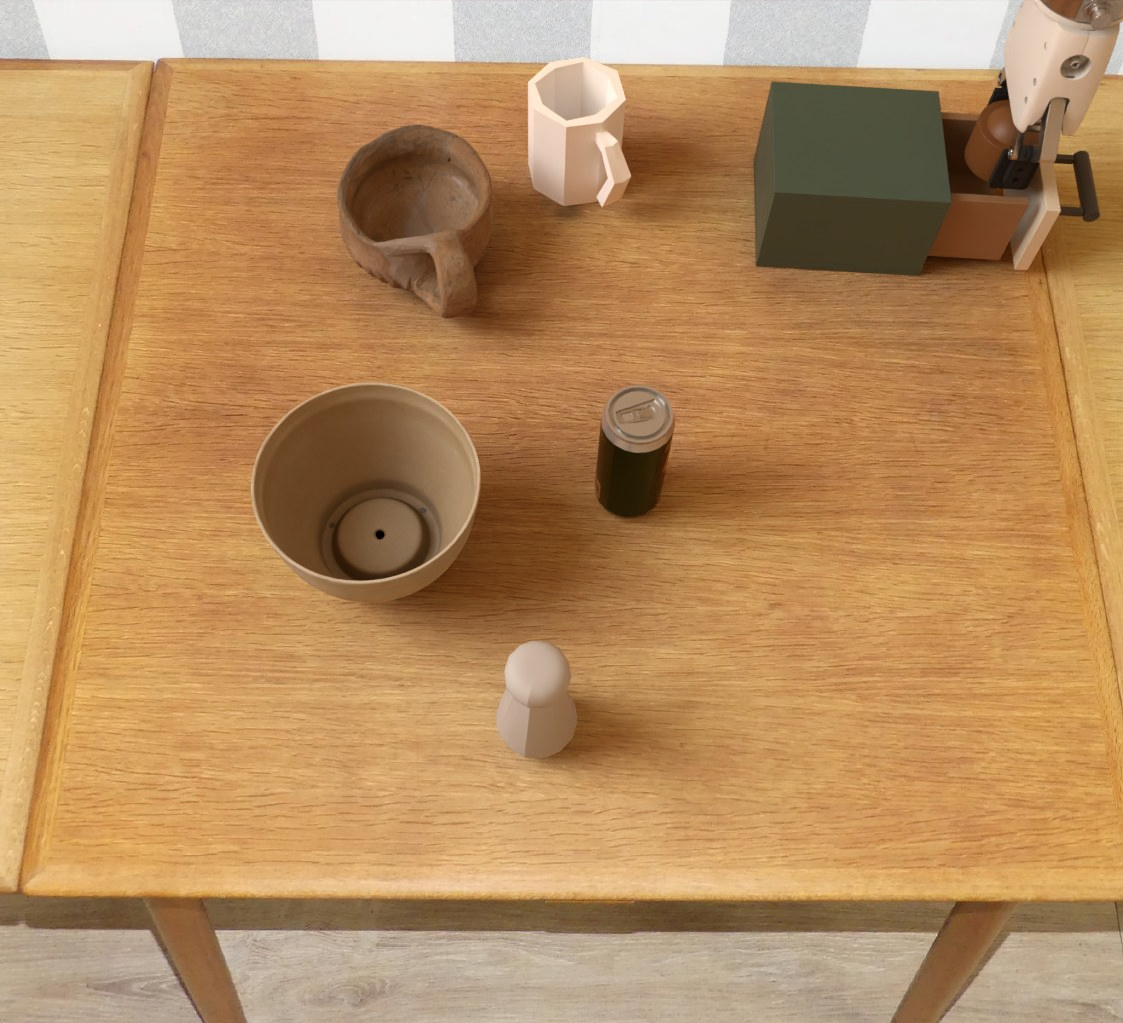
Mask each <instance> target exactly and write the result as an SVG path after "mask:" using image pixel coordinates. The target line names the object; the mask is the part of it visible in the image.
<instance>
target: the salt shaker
mask: <svg viewBox="0 0 1123 1023" xmlns="http://www.w3.org/2000/svg"><path fill="white" fill-rule="evenodd" d="M506 661H507V662H506V664H505V667H504V670H503V674H504V681H505V682H504V683H505V690H504V692H503V694H502V695H501V697H500V700H499V703H498V706H497V710H496V712H495V720H496V728H497V734H498V735H499V736H500V738H501V739H502V741H503V742H504V743H505V745H506V746H507V748H508V749H509V750H511V751H513V752H514V753H516V754H518V755H519V756H521V757H523V758H525V759H526V758H527V759H539V760H540V759H541V760H543V759H546V758H548V757H551V756H553V755H556V754H559V753H561V751H562V750H563V749H564V748H565V747H566V746H567V745H568V744H569V743H570V742H571V740H572V739H573V738H574V735H575V731H576V727H577V725H578V721H579V718H578V714H577V709H576V703H575V701H574V700H573V698H572V696H571V695H570V693H569V691H568V689H569V685H570V682H571V679H572V672H571V666H570V662H569V659H568V658H567V656H566V655H565V653H564V652H563V651H562V650H561V648H560V647H558V646H556V645H555V644H553V643H551V642H549V641H545V640H530V641H527V642H525V643H523V644H520V645H518V646H517V647H516V648H515V650H513V652H511V653H510V655H508V658H507V660H506Z"/></svg>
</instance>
